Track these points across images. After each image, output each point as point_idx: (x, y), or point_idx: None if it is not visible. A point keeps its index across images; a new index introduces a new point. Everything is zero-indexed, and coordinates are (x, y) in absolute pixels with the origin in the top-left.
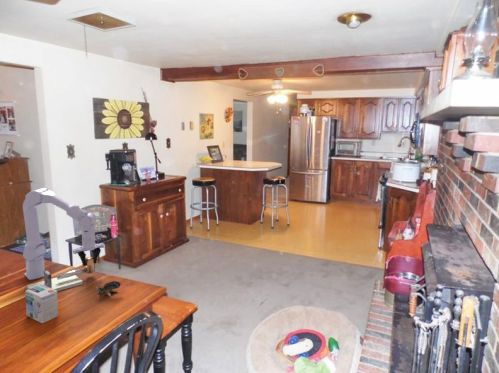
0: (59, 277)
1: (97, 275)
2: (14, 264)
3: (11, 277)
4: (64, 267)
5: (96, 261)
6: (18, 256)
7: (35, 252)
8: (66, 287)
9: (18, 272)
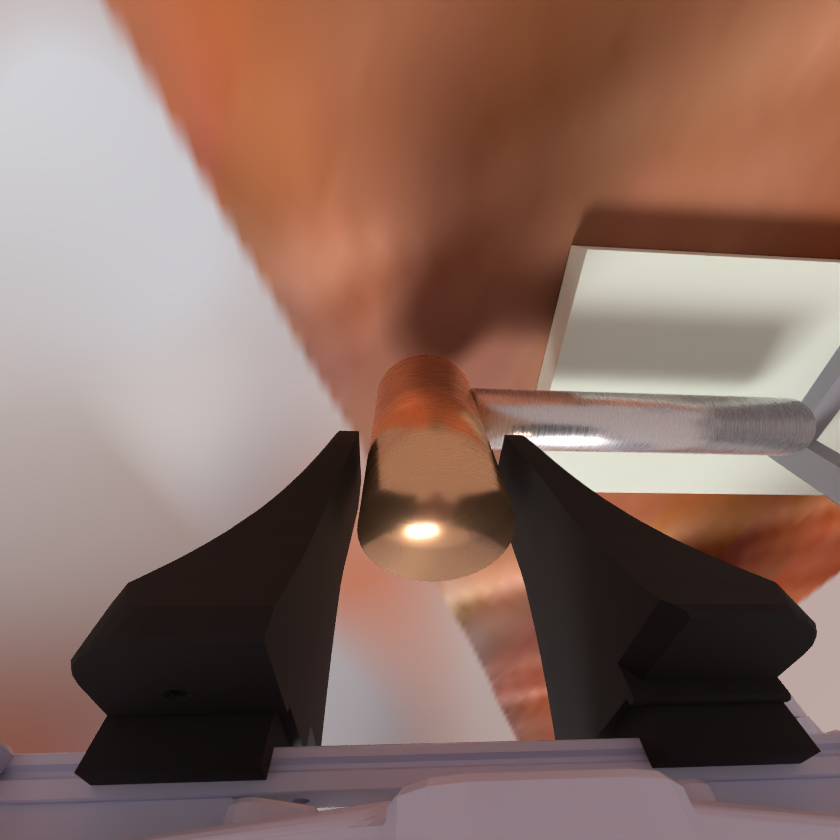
0: (793, 403)
1: (352, 353)
2: None
3: None
4: (475, 610)
5: (331, 443)
6: None
7: None
8: (749, 255)
9: None
